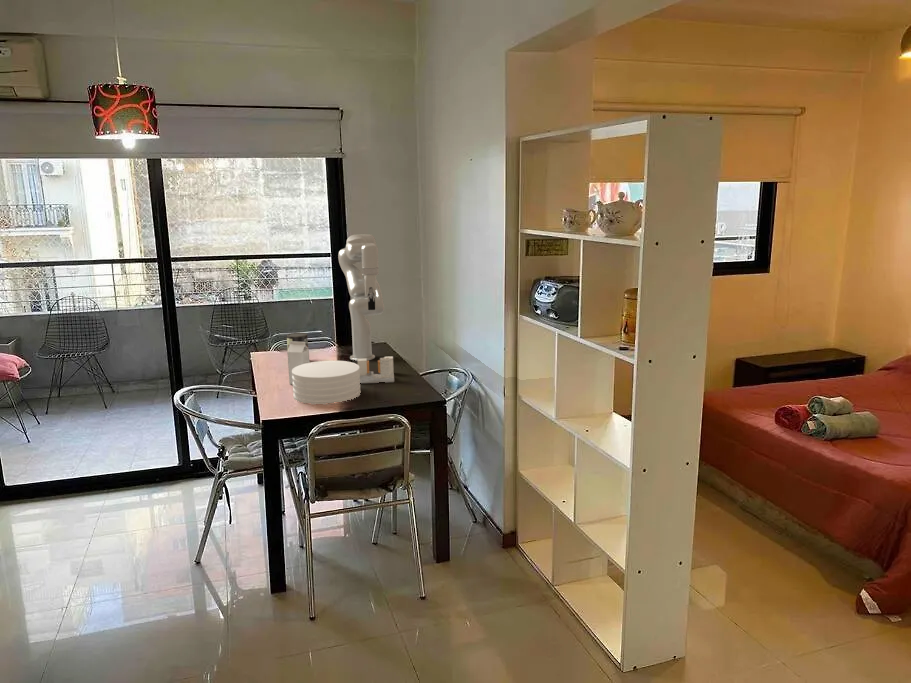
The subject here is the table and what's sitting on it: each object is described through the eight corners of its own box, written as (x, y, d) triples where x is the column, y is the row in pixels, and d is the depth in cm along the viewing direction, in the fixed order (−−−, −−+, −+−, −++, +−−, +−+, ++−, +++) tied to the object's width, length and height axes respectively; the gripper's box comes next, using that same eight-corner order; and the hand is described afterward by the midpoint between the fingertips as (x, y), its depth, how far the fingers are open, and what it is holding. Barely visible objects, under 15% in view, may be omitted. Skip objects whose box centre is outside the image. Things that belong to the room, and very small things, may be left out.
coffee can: (312, 360, 348) (311, 333, 345) (302, 365, 338) (300, 337, 335) (295, 358, 351) (293, 332, 348) (284, 363, 342) (282, 336, 339)
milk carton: (304, 385, 302) (301, 343, 298) (289, 384, 304) (286, 343, 300) (310, 381, 309) (308, 340, 305) (296, 380, 310) (293, 339, 306)
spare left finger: (382, 373, 321) (382, 356, 319) (393, 372, 322) (392, 356, 320) (382, 375, 317) (382, 358, 315) (393, 375, 318) (393, 358, 316)
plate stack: (348, 382, 307) (347, 357, 304) (370, 398, 283) (369, 371, 280) (286, 391, 294) (284, 365, 292) (303, 408, 270) (301, 380, 268)
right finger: (358, 375, 309) (357, 358, 308) (369, 375, 310) (368, 358, 308) (358, 378, 305) (357, 360, 304) (369, 377, 306) (368, 360, 304)
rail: (341, 379, 311) (339, 358, 308) (393, 377, 313) (393, 356, 311) (340, 384, 303) (339, 362, 301) (394, 382, 306) (393, 360, 304)
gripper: (362, 269, 323) (364, 305, 327) (361, 274, 306) (363, 311, 310) (378, 269, 324) (379, 305, 328) (378, 273, 307) (379, 311, 311)
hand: (371, 308), depth 319 cm, fingers open, 9 cm apart
